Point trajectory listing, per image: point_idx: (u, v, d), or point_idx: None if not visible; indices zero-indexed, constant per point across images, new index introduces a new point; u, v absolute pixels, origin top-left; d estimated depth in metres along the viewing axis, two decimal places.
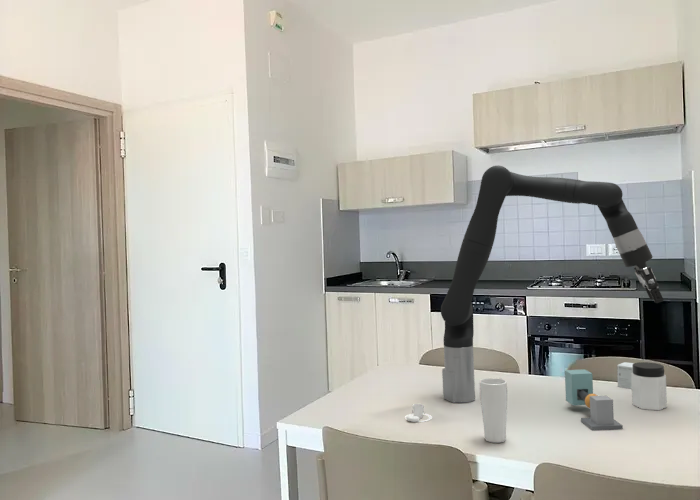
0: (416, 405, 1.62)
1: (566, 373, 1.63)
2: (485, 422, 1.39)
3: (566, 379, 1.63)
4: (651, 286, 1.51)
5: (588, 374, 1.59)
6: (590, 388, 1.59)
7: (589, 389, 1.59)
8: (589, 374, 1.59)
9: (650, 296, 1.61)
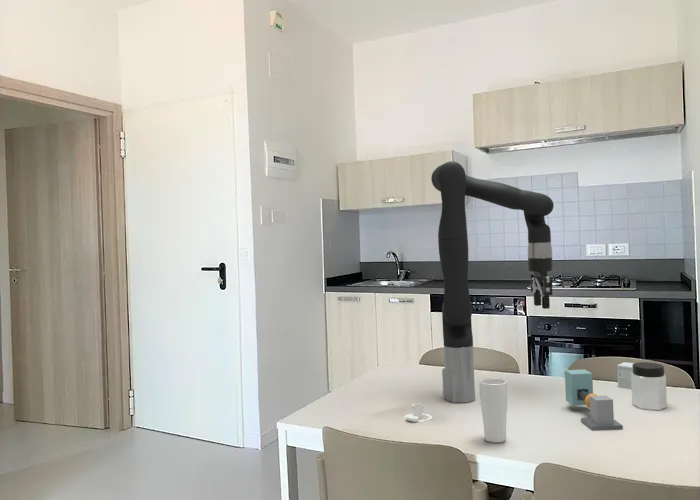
0: (416, 405, 1.62)
1: (566, 373, 1.63)
2: (485, 422, 1.39)
3: (566, 379, 1.63)
4: (546, 293, 1.74)
5: (588, 374, 1.59)
6: (590, 388, 1.59)
7: (589, 389, 1.59)
8: (589, 374, 1.59)
9: (535, 302, 1.84)
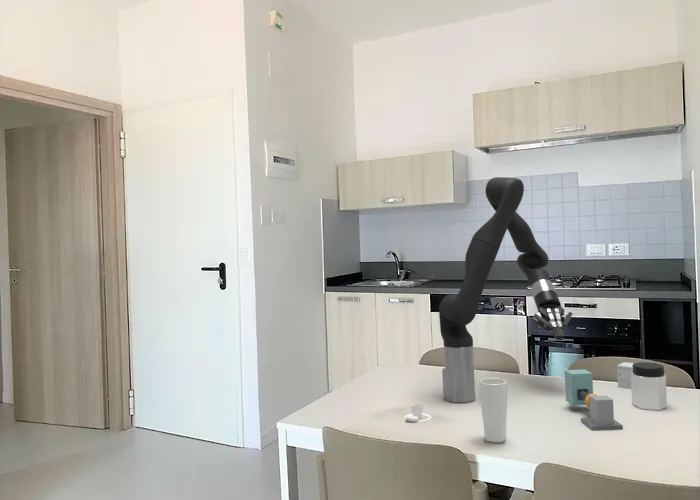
0: (415, 405, 1.62)
1: (566, 373, 1.63)
2: (485, 422, 1.39)
3: (566, 379, 1.63)
4: (565, 325, 1.77)
5: (588, 374, 1.59)
6: (590, 388, 1.59)
7: (589, 389, 1.59)
8: (589, 374, 1.59)
9: None
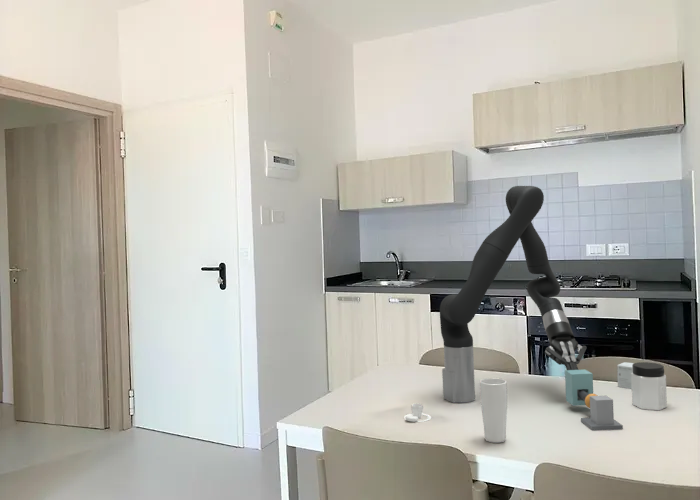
0: (415, 405, 1.62)
1: (566, 373, 1.62)
2: (485, 422, 1.39)
3: (566, 379, 1.63)
4: None
5: (588, 375, 1.59)
6: (590, 388, 1.59)
7: (589, 389, 1.59)
8: (589, 374, 1.59)
9: None
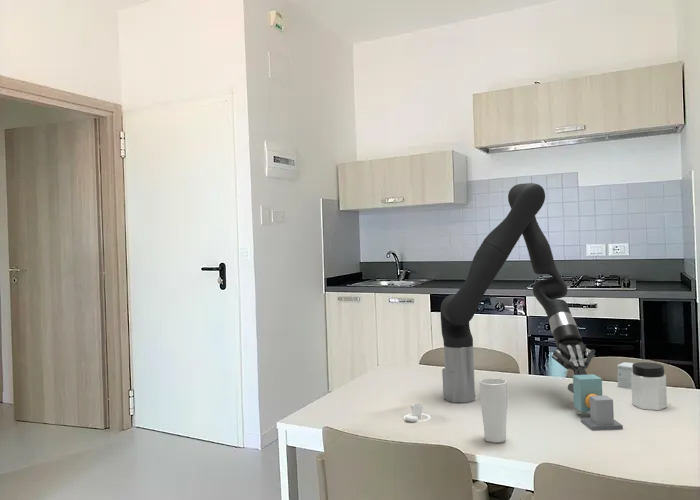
0: (415, 405, 1.62)
1: (574, 378, 1.57)
2: (485, 422, 1.39)
3: (574, 384, 1.57)
4: None
5: (597, 380, 1.53)
6: (599, 394, 1.53)
7: (598, 395, 1.53)
8: (598, 379, 1.53)
9: None
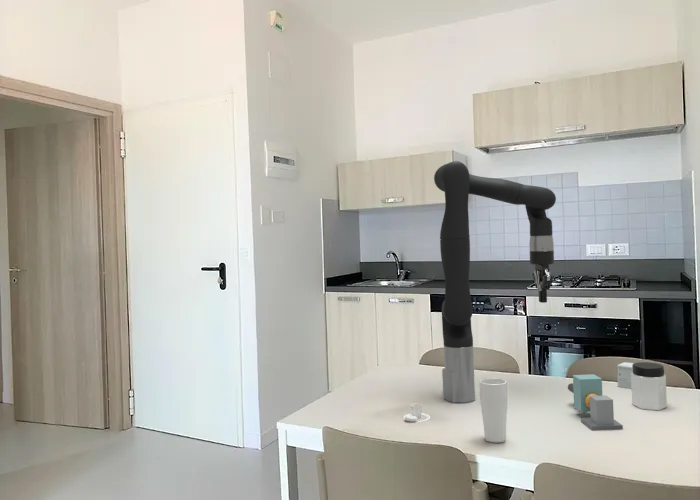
0: (414, 405, 1.62)
1: (574, 378, 1.57)
2: (485, 422, 1.39)
3: (574, 384, 1.57)
4: (544, 288, 1.79)
5: (597, 380, 1.53)
6: (599, 394, 1.53)
7: (598, 395, 1.53)
8: (598, 379, 1.53)
9: None
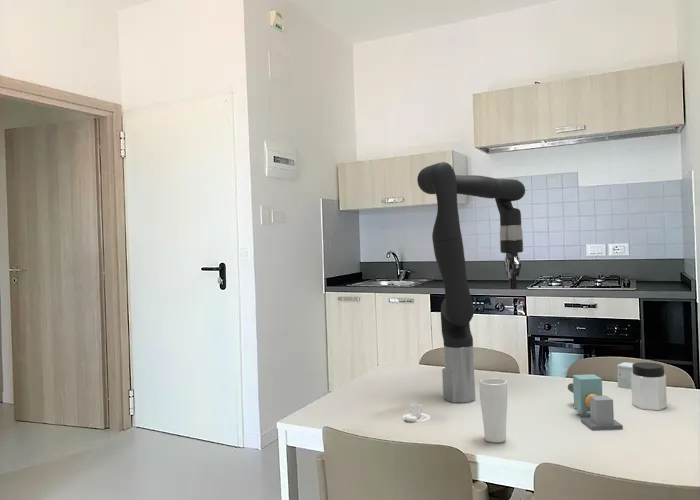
0: (414, 405, 1.62)
1: (574, 378, 1.57)
2: (485, 422, 1.39)
3: (574, 384, 1.57)
4: (513, 276, 1.88)
5: (597, 380, 1.53)
6: (599, 394, 1.53)
7: (598, 395, 1.53)
8: (598, 379, 1.53)
9: None
